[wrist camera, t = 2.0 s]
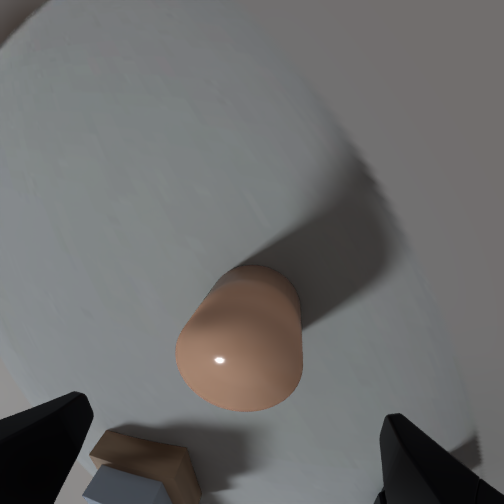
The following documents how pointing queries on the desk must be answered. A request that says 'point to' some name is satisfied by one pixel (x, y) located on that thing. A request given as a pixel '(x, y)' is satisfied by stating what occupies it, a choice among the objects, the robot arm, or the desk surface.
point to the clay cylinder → (244, 341)
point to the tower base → (150, 464)
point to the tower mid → (124, 489)
